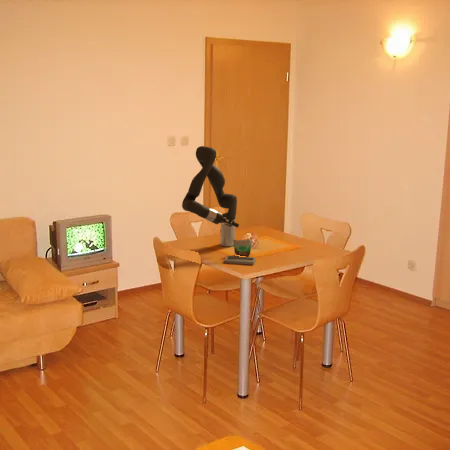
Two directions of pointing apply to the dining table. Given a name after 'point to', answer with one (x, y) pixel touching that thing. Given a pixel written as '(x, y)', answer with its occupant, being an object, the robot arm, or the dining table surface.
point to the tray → (240, 260)
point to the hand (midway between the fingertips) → (234, 225)
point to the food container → (242, 247)
